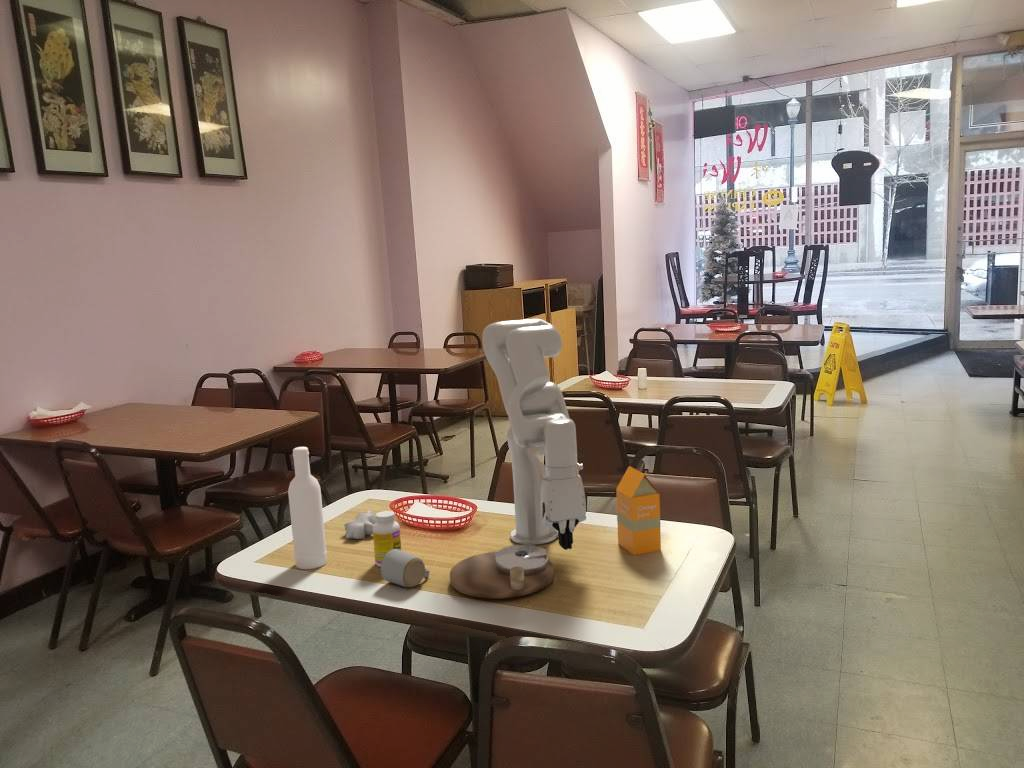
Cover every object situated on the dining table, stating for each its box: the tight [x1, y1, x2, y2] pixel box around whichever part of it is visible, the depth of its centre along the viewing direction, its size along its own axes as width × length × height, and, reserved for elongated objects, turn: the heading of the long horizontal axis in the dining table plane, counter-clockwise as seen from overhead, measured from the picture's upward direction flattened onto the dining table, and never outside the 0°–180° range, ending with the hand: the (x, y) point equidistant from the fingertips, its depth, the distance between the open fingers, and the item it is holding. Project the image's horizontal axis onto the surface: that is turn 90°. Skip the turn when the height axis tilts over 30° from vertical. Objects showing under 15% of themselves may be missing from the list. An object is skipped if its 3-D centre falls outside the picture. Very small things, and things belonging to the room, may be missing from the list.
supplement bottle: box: [372, 510, 402, 568], centre depth 192 cm, size 7×7×13 cm
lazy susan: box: [449, 550, 555, 600], centre depth 178 cm, size 24×24×6 cm
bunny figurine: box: [343, 509, 377, 540], centre depth 217 cm, size 10×5×15 cm
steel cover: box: [496, 544, 549, 576], centre depth 180 cm, size 12×12×3 cm
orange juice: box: [615, 465, 662, 556], centre depth 194 cm, size 8×9×20 cm
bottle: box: [287, 446, 328, 570], centre depth 193 cm, size 8×8×30 cm
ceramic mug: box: [380, 549, 430, 588], centre depth 181 cm, size 11×8×8 cm
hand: (566, 547), depth 183 cm, fingers closed
